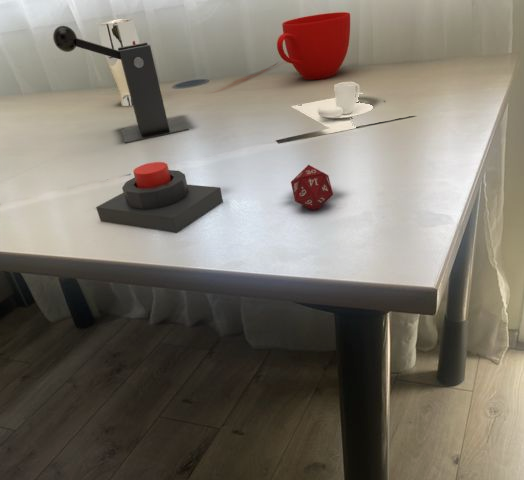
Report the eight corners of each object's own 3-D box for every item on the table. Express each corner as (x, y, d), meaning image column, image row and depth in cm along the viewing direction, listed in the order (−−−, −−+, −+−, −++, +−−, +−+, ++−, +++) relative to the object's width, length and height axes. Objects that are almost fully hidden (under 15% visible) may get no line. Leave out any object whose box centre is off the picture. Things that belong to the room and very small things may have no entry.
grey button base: (100, 221, 58) (90, 190, 56) (149, 194, 63) (141, 165, 61) (177, 233, 52) (168, 199, 50) (223, 202, 58) (217, 170, 56)
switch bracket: (126, 150, 81) (100, 56, 73) (123, 137, 88) (98, 50, 80) (190, 136, 82) (171, 42, 75) (181, 124, 89) (163, 37, 82)
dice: (298, 219, 51) (294, 178, 49) (291, 202, 55) (287, 164, 52) (336, 213, 51) (334, 171, 49) (327, 196, 55) (325, 157, 52)
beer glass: (154, 101, 109) (134, 16, 100) (154, 108, 103) (133, 18, 94) (120, 108, 108) (97, 22, 100) (119, 115, 103) (94, 25, 94)
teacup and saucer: (323, 125, 77) (321, 95, 74) (308, 114, 83) (306, 86, 81) (381, 114, 77) (381, 83, 75) (361, 103, 84) (361, 75, 81)
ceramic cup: (260, 87, 106) (253, 29, 100) (317, 68, 114) (314, 13, 108) (307, 90, 98) (302, 27, 92) (365, 69, 106) (364, 10, 100)
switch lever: (51, 49, 74) (53, 23, 72) (52, 46, 76) (54, 21, 75) (145, 76, 79) (149, 52, 77) (143, 73, 81) (147, 50, 80)
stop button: (130, 189, 56) (125, 172, 55) (153, 177, 58) (149, 161, 57) (156, 191, 54) (151, 174, 53) (178, 179, 56) (174, 162, 55)
